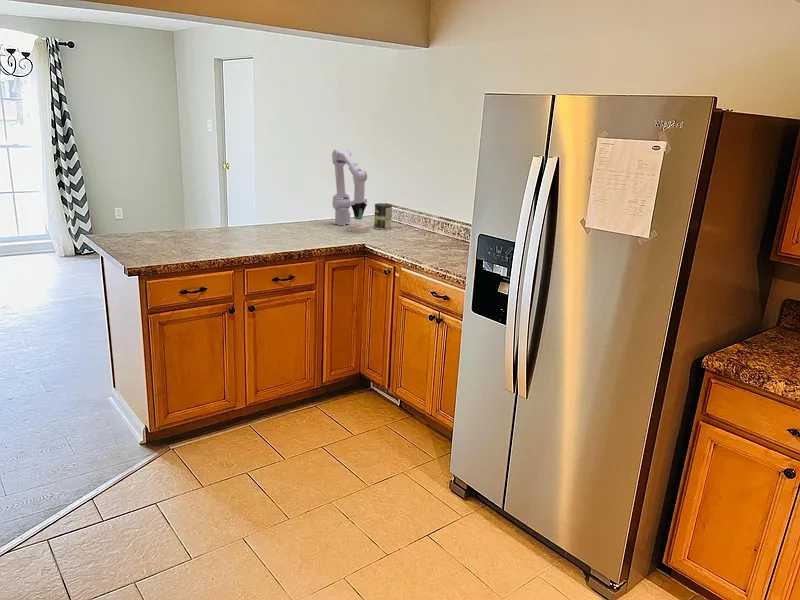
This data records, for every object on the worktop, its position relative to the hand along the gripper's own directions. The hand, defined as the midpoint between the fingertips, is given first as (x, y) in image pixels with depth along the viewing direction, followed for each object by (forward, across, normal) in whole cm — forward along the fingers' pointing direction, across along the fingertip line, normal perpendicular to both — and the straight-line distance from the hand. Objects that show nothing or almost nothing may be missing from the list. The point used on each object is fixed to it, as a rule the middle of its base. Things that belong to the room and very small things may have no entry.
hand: (358, 216), depth 350 cm
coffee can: (+9, +18, -6) cm, 21 cm away
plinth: (+8, 0, 0) cm, 8 cm away
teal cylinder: (+2, 0, 0) cm, 2 cm away
